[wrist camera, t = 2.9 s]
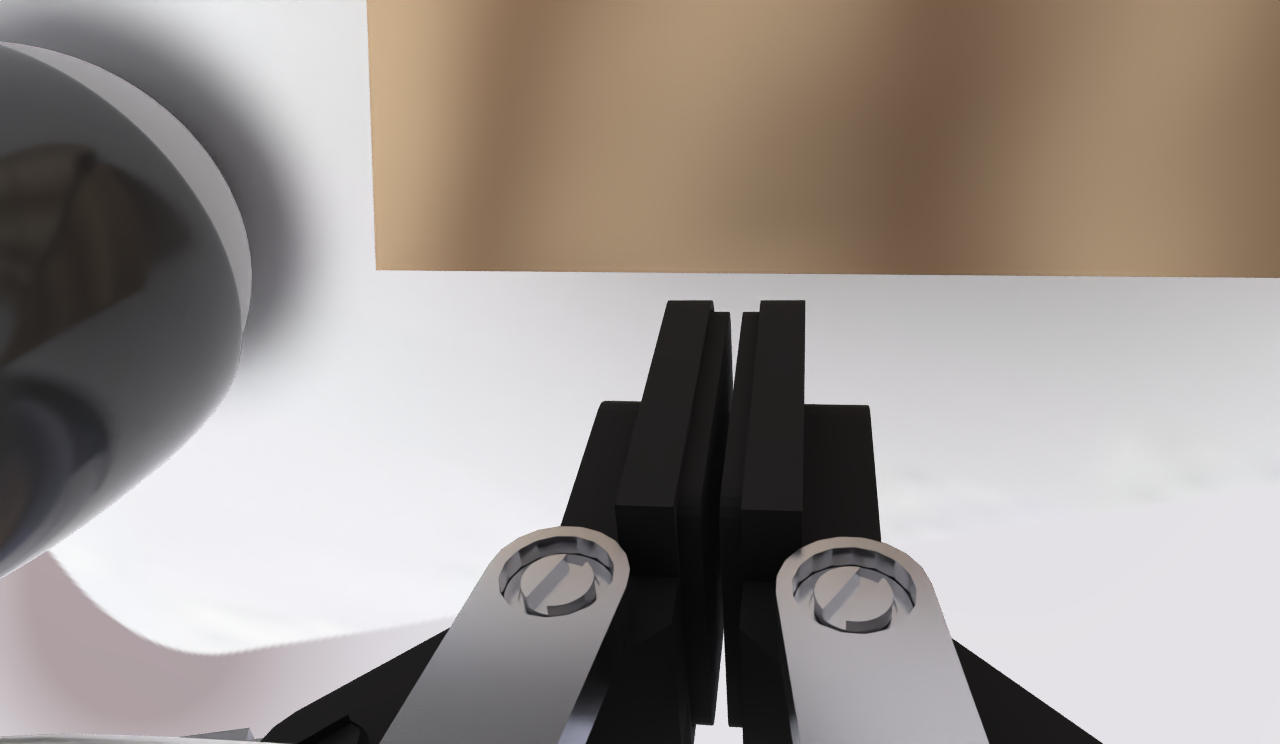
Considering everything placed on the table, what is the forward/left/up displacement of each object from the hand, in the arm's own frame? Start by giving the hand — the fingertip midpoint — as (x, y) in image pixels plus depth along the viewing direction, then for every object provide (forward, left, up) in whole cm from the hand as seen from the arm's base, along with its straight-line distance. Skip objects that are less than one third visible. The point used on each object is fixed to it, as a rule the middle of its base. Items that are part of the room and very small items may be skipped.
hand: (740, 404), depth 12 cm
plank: (-3, -2, -9) cm, 9 cm away
